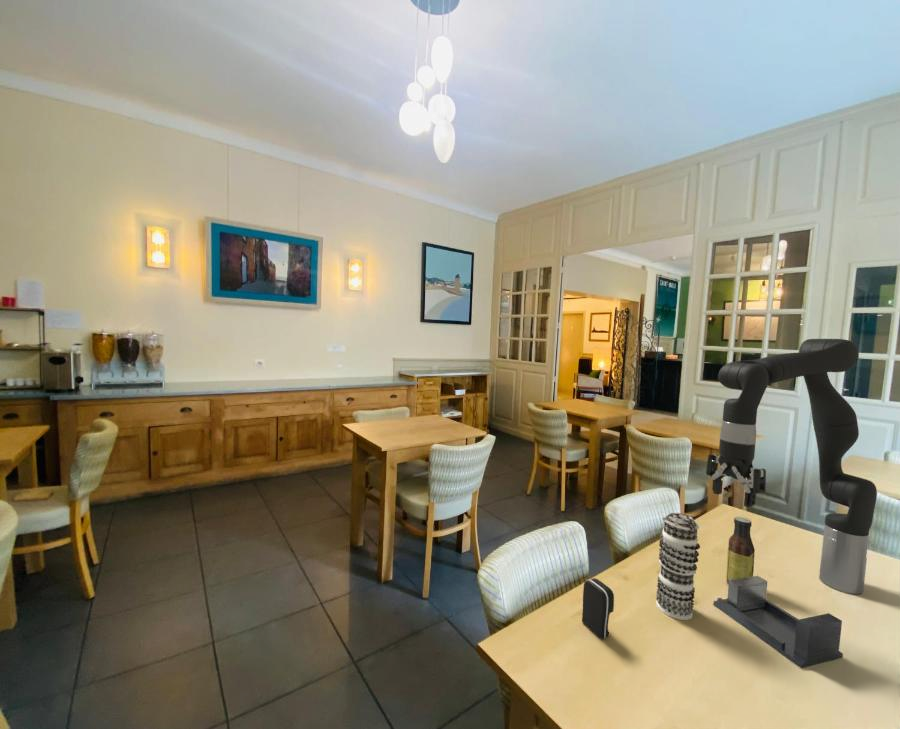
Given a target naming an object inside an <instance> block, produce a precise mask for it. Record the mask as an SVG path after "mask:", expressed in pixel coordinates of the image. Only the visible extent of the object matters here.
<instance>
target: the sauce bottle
mask: <svg viewBox="0 0 900 729" xmlns="http://www.w3.org/2000/svg"><path fill="white" fill-rule="evenodd" d="M733 523H734V528H733V534H732V535H731V536H730V537H729V538H728V547H727V558H726V573H725V574H726V575H725V577H726V583H727V586H729V580H734V579H740V578H747V577H753V576H754V570H755V554H756V553H755V552H756V550H755V549H756V548H755V547H754V543H753V540H752V537H751V527H752V521H751V520H750V519H748V518H746V517H742V516H735V517H734V518H733Z"/></svg>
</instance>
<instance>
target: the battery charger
mask: <svg viewBox="0 0 900 729" xmlns="http://www.w3.org/2000/svg"><path fill="white" fill-rule="evenodd" d="M614 606H615V596H614V592H613V590H612V589H611V588H610V587H609V586H608V585H606V584H605V583H604V582H602V581H601V580H599V579H598V578H591V579H586V580H585V581H584V583H583V590H582V614H581V615H582V617H581V622H582V623H583V624H584V625H585V626H586V627H587V628H588V629H589V630H590V631H592V632H593V633H594V634H595V635H596V636H598V638H600V639H601V640H605V639H606V638H608V637H609V636H610V632H609V621H610V620H609V619H610V615H611V613H613V612H614V610H615V609H614V608H615V607H614Z"/></svg>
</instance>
